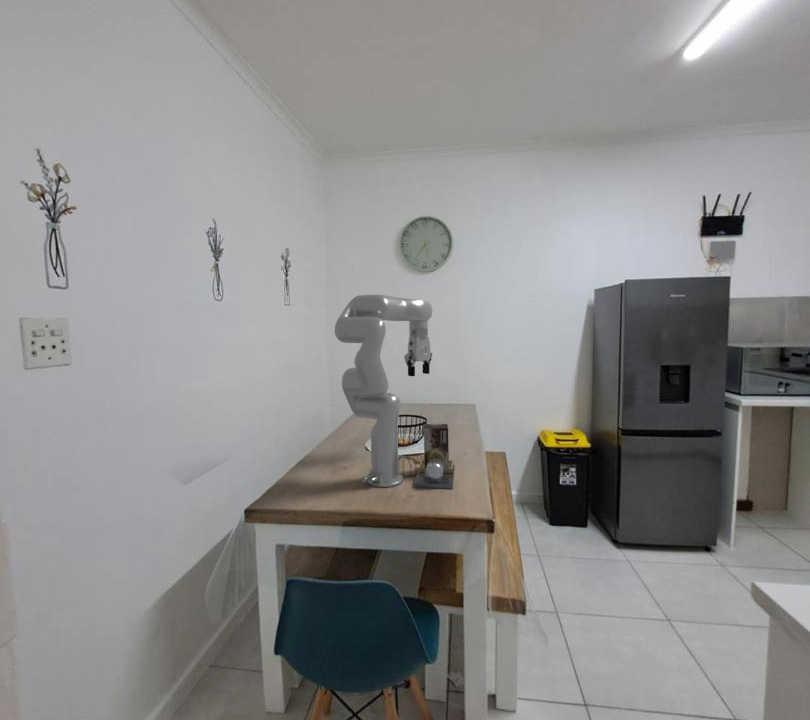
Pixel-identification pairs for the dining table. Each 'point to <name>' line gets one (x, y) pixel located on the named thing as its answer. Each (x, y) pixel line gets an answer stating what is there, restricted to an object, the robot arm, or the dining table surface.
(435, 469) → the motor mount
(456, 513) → the dining table surface
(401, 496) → the dining table surface
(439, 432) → the coffee box
